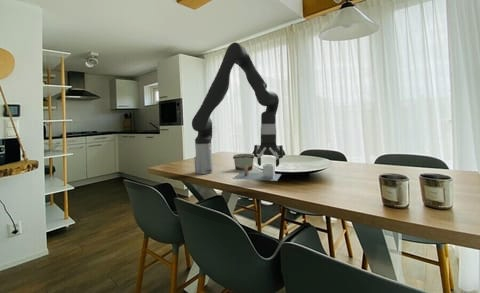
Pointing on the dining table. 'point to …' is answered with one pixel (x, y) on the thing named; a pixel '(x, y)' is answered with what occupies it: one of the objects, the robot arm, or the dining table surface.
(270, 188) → the dining table surface
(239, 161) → the food container
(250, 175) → the board
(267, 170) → the white block
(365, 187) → the dining table surface
